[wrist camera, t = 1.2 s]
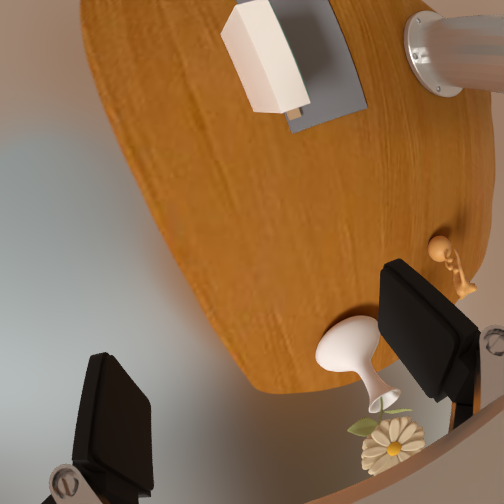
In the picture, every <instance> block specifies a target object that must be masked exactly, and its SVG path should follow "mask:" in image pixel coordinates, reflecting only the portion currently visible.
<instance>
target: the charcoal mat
mask: <svg viewBox="0 0 504 504" xmlns="http://www.w3.org/2000/svg"><path fill="white" fill-rule="evenodd" d="M236 1H237V3H238V4H242V3H246V2H250V1H254V0H236ZM268 1H269V2H271V4H272V6H273V8H274V10H275V12H276V14H277V17H278V19H279V21H280V23H281V25H282V28H283V30H284V32H285V34H286V37H287V39H288V41H289V44H290V46H291V49H292V51H293V53H294V56H295V58H296V61H297V63H298V66H299V68H300V71H301V74H302V76H303V79H304V81H305V84H306V87H307V90H308V92H309V95H310V98H311V99H309V100H310V104H307V105H304V106H301V107H298V108H295V109H292V110H289V111H286V112H284V114H285V116H286V119H287V122H288V124H289V127H290V130H291V133H295V132H298V131H301V130H304V129H306V128H309V127H312V126H315V125H317V124H320V123H323V122H326V121H329V120H332V119H335V118H338V117H341V116H344V115H347V114H350V113H353V112H356V111H360V110H363V109H366V108H367V104H366V101H365V98H364V94H363V91H362V88H361V85H360V81H359V78H358V75H357V72H356V69H355V66H354V64H353V61H352V58H351V55H350V52H349V50H348V47H347V44H346V42H345V39H344V37H343V34H342V32H341V29H340V27H339V24H338V22H337V20H336V17H335V15H334V13H333V10H332V8H331V6H330V4H329V2H328V0H268Z"/></svg>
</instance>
